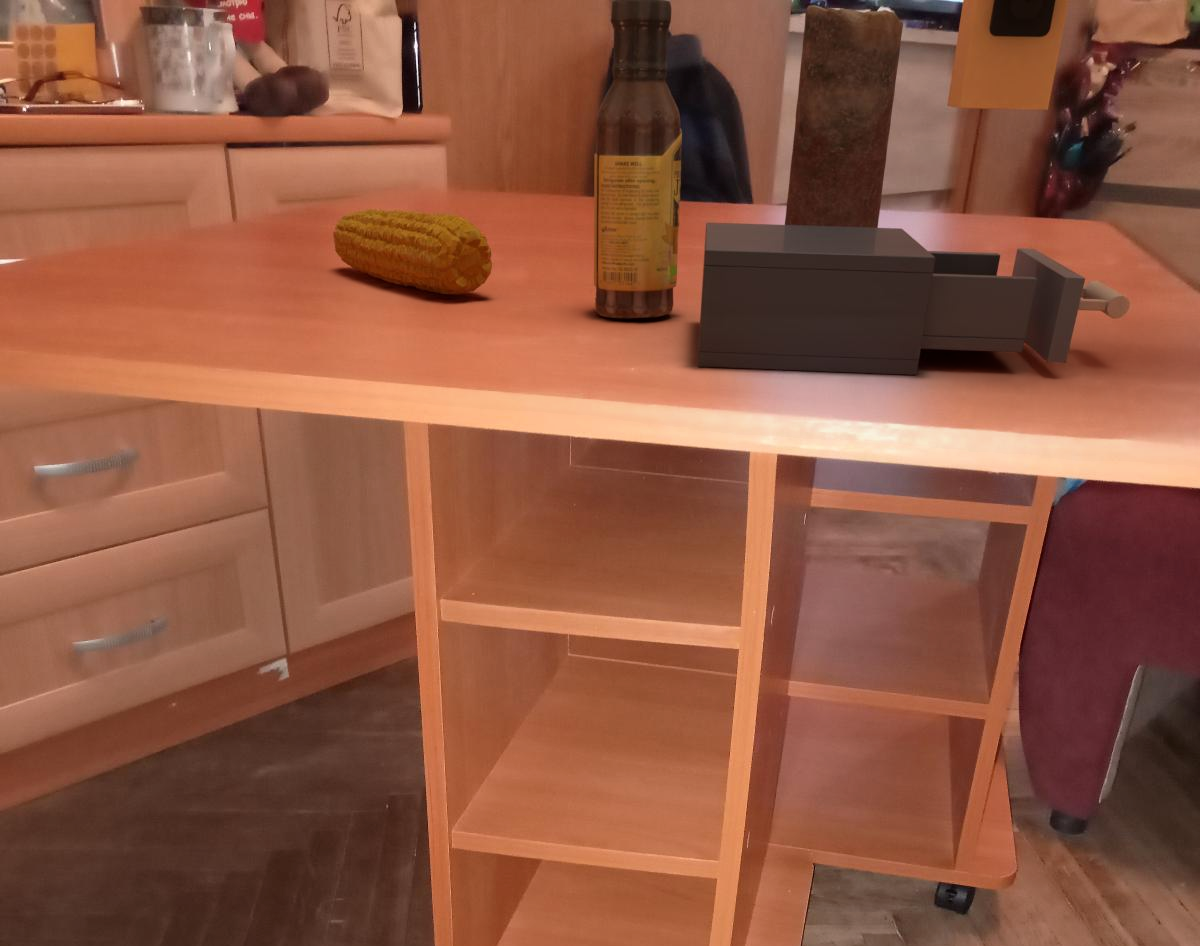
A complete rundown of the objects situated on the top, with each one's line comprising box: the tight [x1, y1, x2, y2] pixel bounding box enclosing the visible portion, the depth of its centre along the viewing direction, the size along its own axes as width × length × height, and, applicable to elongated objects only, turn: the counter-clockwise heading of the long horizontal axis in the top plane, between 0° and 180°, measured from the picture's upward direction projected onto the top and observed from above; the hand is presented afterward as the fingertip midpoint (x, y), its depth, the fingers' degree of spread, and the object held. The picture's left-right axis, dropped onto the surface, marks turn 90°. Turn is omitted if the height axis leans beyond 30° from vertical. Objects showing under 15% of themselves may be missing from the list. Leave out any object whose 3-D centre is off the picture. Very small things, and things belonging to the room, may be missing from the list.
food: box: [332, 208, 493, 296], centre depth 96 cm, size 21×6×6 cm, turn 41°
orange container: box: [947, 0, 1070, 111], centre depth 66 cm, size 5×5×9 cm
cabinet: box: [697, 222, 935, 376], centre depth 77 cm, size 14×14×7 cm
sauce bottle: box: [593, 0, 683, 320], centre depth 83 cm, size 6×6×20 cm
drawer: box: [921, 247, 1131, 364], centre depth 76 cm, size 17×13×5 cm
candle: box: [784, 4, 904, 228], centre depth 88 cm, size 8×7×20 cm
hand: (1009, 33), depth 66 cm, fingers closed on orange container, 4 cm apart
